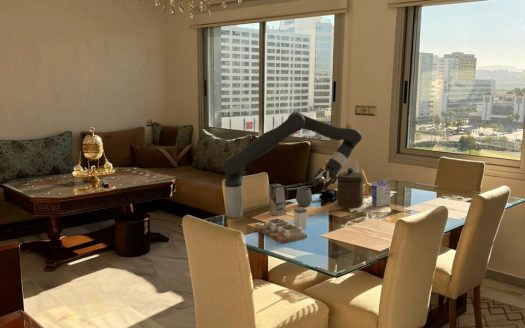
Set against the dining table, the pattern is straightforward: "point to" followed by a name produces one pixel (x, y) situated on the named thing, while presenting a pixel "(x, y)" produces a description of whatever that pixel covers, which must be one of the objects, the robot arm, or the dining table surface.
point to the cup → (304, 197)
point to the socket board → (281, 230)
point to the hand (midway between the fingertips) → (318, 187)
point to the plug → (300, 217)
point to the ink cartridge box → (381, 194)
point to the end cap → (328, 195)
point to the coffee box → (277, 199)
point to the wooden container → (350, 189)
